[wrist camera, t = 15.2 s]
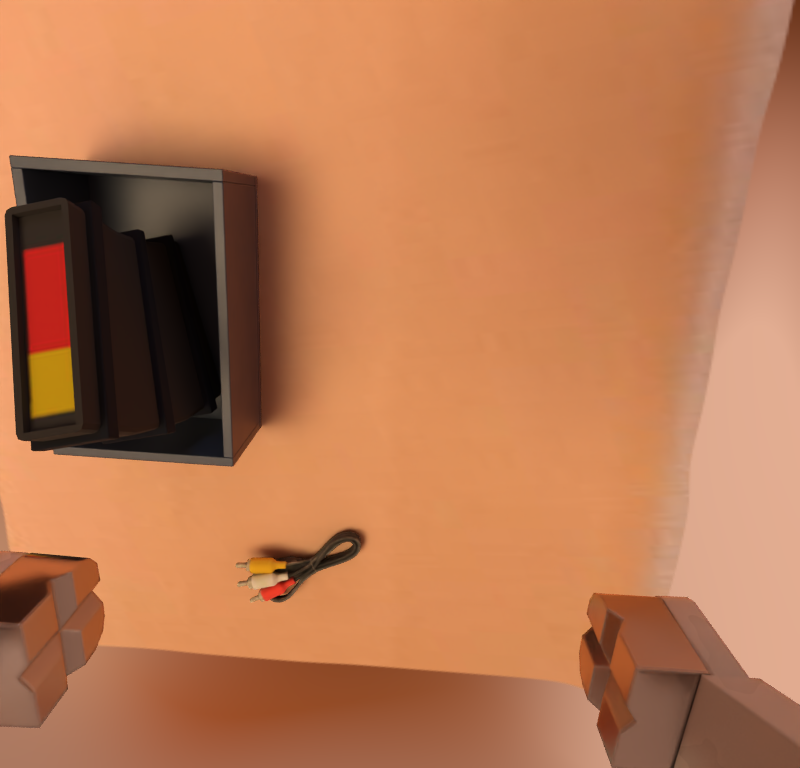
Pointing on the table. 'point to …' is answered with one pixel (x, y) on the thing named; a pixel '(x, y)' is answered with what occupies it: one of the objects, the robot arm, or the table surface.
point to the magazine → (100, 330)
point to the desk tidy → (208, 273)
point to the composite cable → (294, 568)
